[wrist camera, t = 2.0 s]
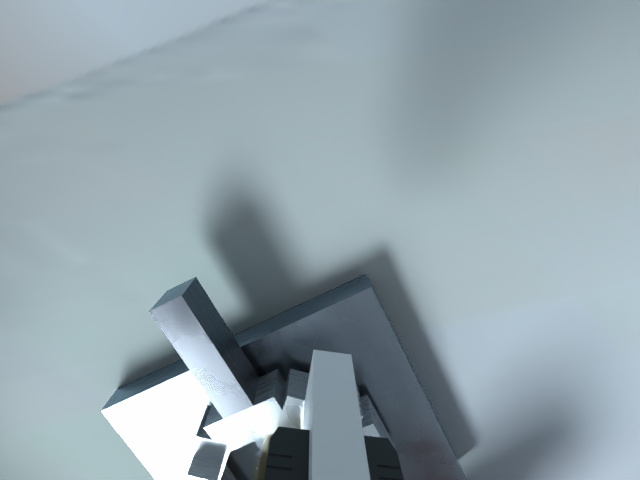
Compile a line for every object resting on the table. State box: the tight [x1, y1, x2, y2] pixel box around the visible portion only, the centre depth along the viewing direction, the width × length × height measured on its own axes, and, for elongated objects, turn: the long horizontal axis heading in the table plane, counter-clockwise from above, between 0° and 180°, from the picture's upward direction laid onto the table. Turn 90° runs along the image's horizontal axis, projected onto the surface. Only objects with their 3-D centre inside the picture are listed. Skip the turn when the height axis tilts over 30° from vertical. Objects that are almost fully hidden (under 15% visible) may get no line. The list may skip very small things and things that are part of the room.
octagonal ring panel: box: [149, 277, 396, 480], centre depth 21 cm, size 19×12×4 cm, turn 26°
